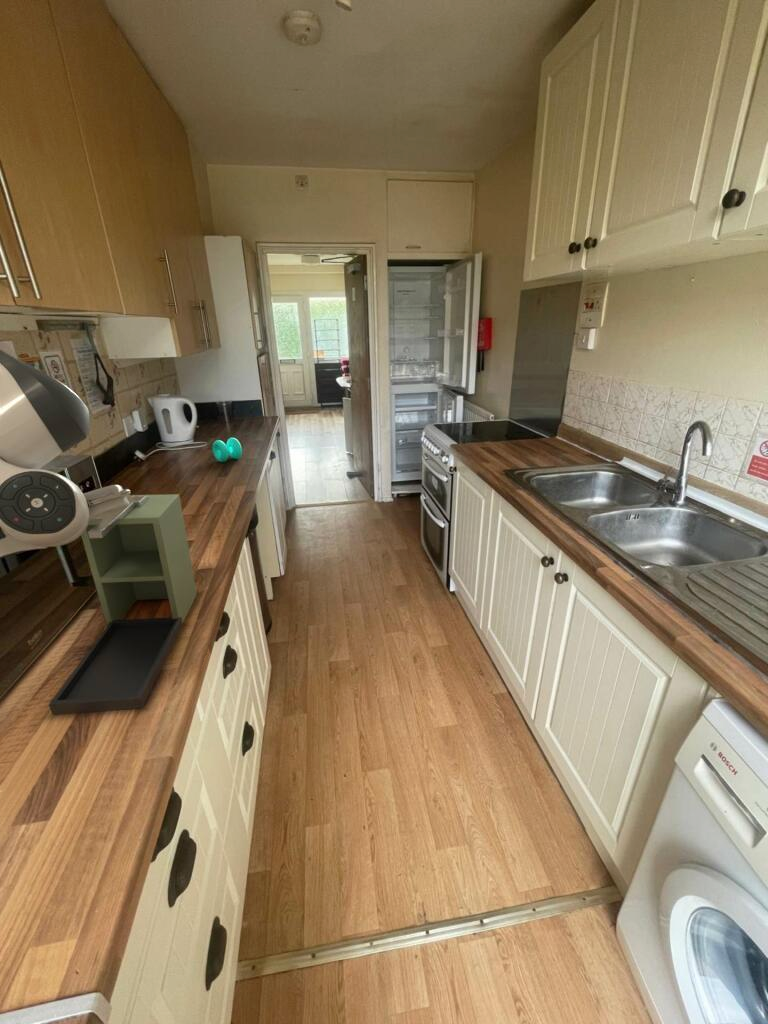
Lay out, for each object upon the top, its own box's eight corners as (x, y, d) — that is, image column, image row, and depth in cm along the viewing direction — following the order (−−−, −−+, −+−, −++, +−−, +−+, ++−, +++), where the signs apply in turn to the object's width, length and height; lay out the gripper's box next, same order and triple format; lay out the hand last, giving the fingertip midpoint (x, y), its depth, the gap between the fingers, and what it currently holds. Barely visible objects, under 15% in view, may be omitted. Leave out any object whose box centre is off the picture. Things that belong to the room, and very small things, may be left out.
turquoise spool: (212, 460, 197) (209, 439, 193) (232, 456, 204) (229, 435, 200) (224, 464, 191) (221, 442, 187) (244, 460, 198) (241, 439, 194)
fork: (109, 537, 71) (107, 531, 70) (82, 538, 70) (81, 532, 70) (150, 498, 87) (149, 492, 86) (129, 498, 86) (128, 493, 86)
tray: (52, 715, 68) (48, 704, 67) (113, 629, 87) (110, 620, 86) (142, 708, 70) (139, 698, 69) (183, 625, 89) (181, 616, 88)
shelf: (108, 631, 87) (76, 519, 77) (133, 597, 98) (107, 495, 88) (180, 627, 88) (158, 517, 78) (196, 594, 99) (179, 494, 89)
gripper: (121, 469, 65) (118, 483, 76) (-55, 522, 54) (-27, 528, 65) (139, 508, 66) (134, 515, 77) (-30, 567, 55) (-7, 565, 66)
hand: (59, 521), depth 71 cm, fingers open, 8 cm apart
